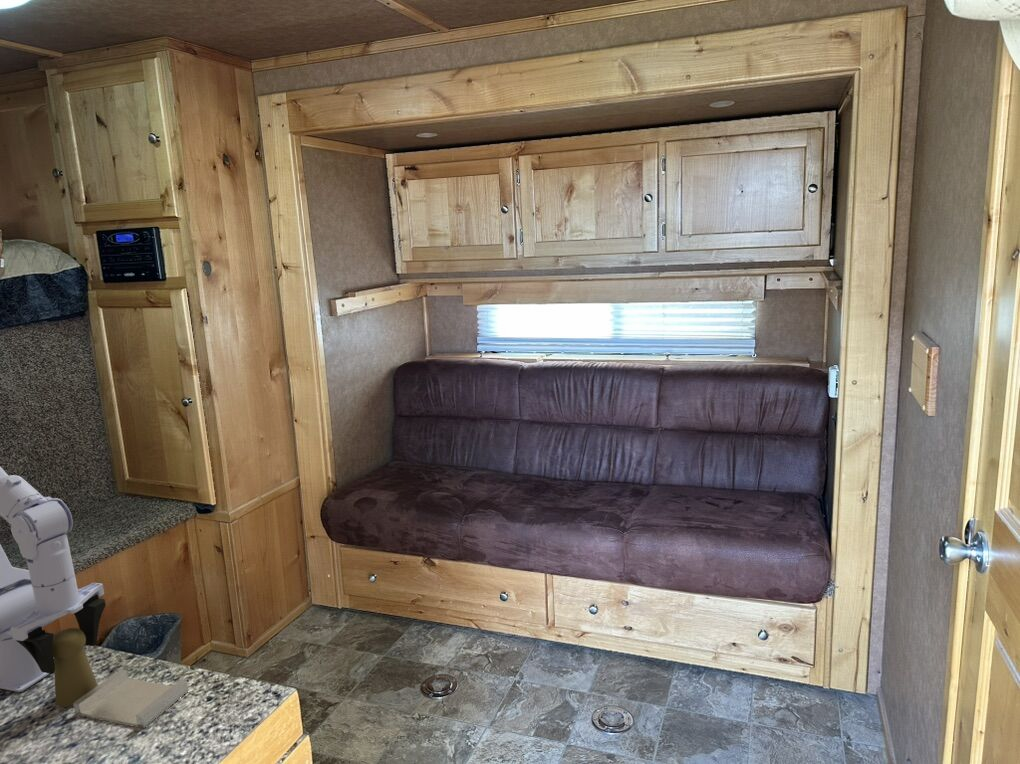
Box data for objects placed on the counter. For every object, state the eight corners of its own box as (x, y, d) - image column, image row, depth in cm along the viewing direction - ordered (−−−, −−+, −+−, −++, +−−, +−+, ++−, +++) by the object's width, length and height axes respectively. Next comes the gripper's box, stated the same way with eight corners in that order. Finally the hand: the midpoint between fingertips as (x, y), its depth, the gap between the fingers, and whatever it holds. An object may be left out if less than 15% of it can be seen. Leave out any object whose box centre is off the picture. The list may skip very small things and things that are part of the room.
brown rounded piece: (107, 683, 119) (95, 622, 117) (82, 707, 113) (69, 643, 111) (73, 683, 119) (60, 623, 117) (46, 707, 114) (32, 643, 111)
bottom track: (75, 714, 111) (72, 703, 111) (122, 680, 119) (120, 669, 119) (144, 728, 107) (142, 716, 106) (188, 691, 115) (186, 680, 115)
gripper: (28, 604, 104) (47, 688, 107) (111, 560, 118) (126, 635, 120) (-7, 599, 106) (12, 681, 109) (79, 556, 120) (94, 631, 122)
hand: (70, 657), depth 115 cm, fingers open, 7 cm apart
